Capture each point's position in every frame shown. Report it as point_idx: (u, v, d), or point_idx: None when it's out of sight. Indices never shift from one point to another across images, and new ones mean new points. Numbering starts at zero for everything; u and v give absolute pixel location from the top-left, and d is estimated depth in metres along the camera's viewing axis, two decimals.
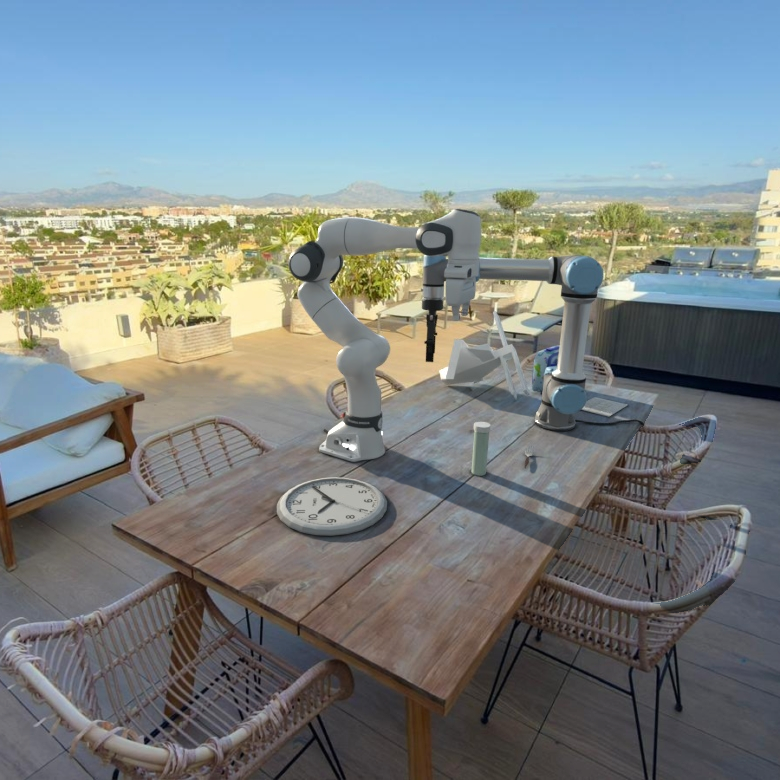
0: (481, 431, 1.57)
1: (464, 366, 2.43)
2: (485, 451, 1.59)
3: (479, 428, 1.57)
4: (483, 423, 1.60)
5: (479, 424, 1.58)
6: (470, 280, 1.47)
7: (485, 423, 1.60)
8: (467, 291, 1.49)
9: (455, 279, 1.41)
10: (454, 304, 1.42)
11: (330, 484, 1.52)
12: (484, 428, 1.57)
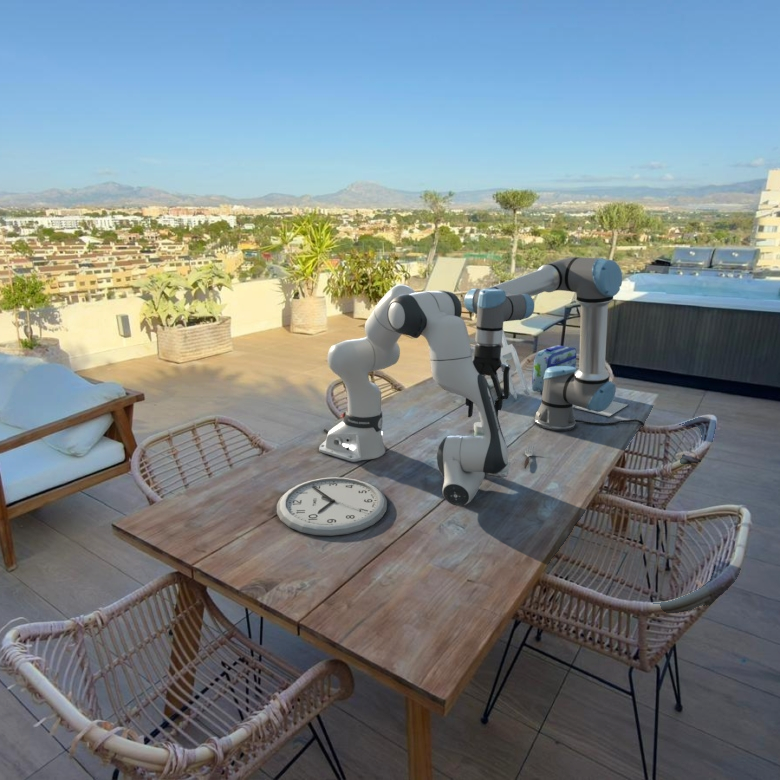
0: (481, 431, 1.57)
1: None
2: None
3: (479, 428, 1.57)
4: None
5: (479, 424, 1.58)
6: None
7: None
8: None
9: None
10: None
11: (330, 484, 1.52)
12: None
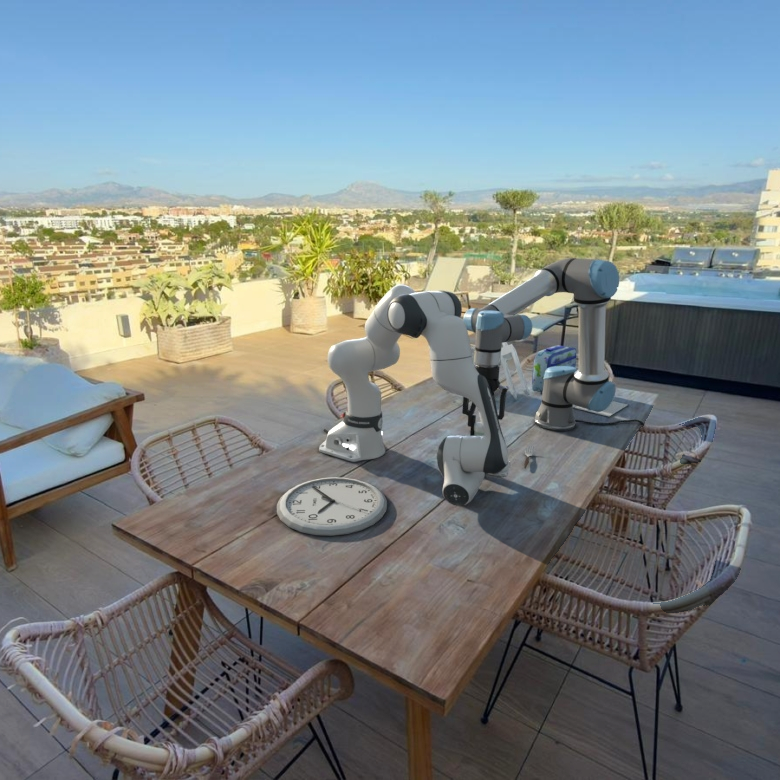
0: (481, 431, 1.57)
1: None
2: None
3: (479, 428, 1.57)
4: None
5: (479, 424, 1.58)
6: None
7: None
8: None
9: None
10: None
11: (330, 484, 1.52)
12: None
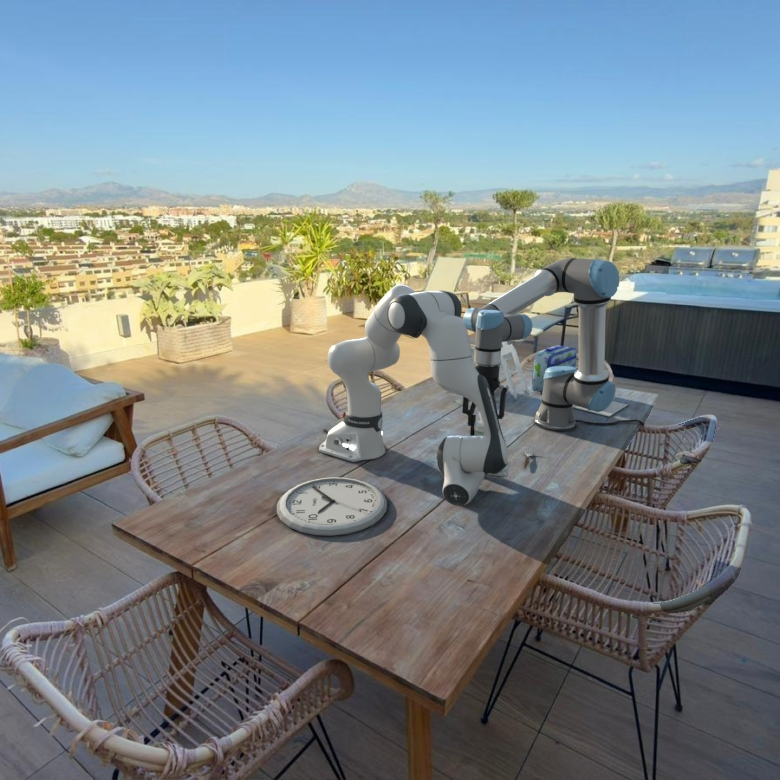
0: None
1: None
2: None
3: None
4: (479, 423, 1.59)
5: None
6: None
7: (476, 423, 1.59)
8: None
9: None
10: None
11: (330, 484, 1.52)
12: None
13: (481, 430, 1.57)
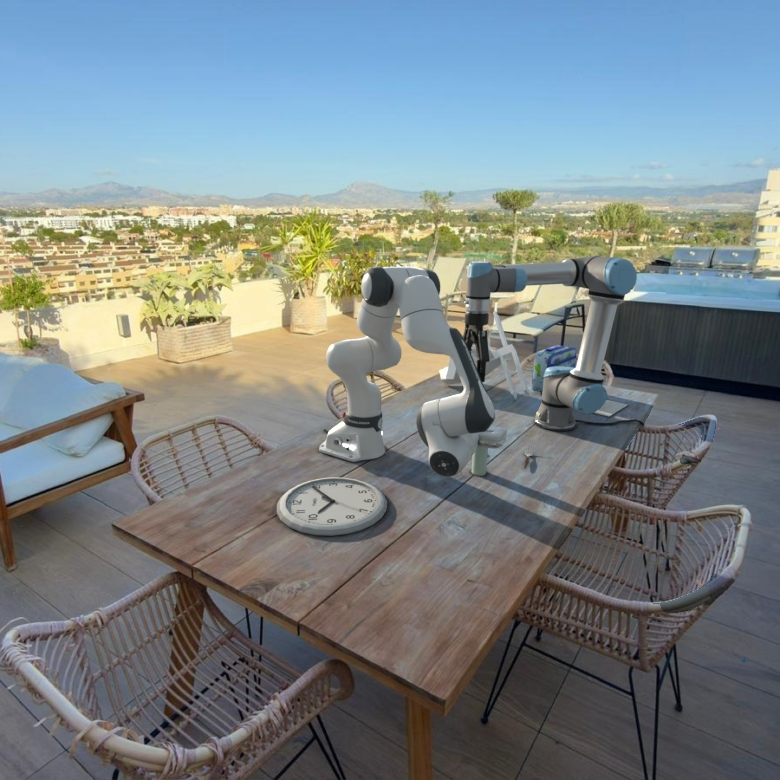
0: None
1: None
2: (485, 451, 1.59)
3: None
4: None
5: None
6: None
7: None
8: None
9: None
10: None
11: (330, 484, 1.52)
12: None
13: None
